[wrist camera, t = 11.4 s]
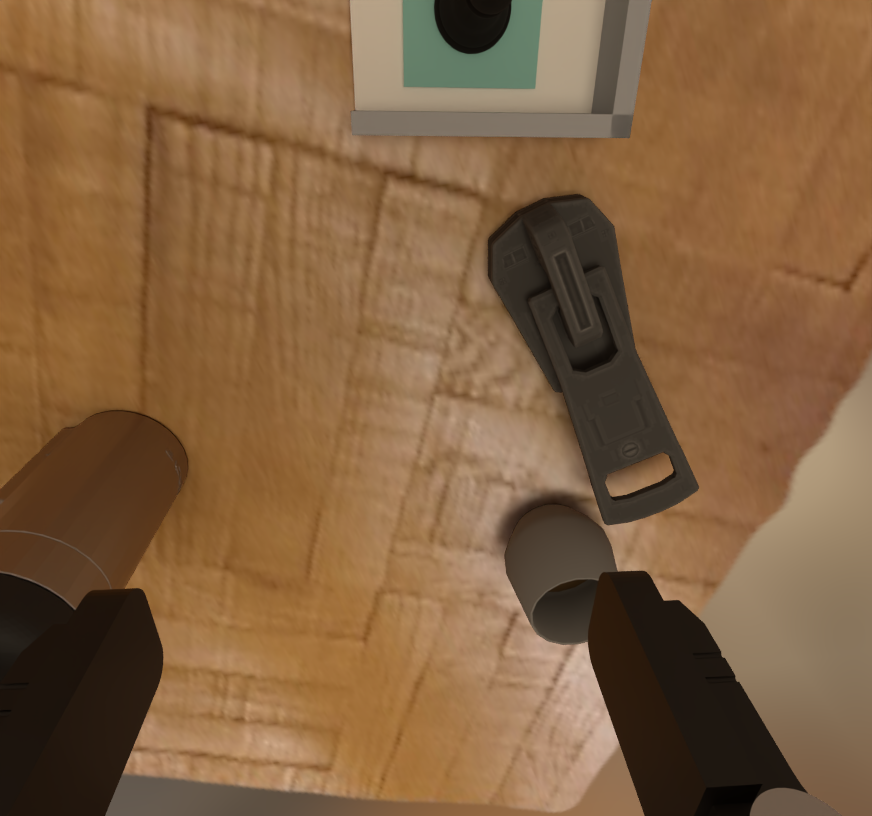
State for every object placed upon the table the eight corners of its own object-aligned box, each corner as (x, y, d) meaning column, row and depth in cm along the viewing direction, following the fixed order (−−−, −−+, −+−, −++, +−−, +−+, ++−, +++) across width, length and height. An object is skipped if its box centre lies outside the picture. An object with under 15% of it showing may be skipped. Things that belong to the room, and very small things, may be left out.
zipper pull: (602, 536, 45) (482, 255, 34) (578, 487, 51) (469, 233, 39) (710, 495, 44) (624, 187, 32) (673, 449, 49) (589, 174, 38)
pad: (403, 86, 34) (403, 86, 34) (401, -85, 30) (401, -87, 30) (533, 88, 34) (535, 88, 34) (547, -80, 31) (549, -82, 30)
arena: (357, 131, 36) (352, 135, 31) (344, -142, 30) (334, -185, 25) (601, 134, 37) (629, 138, 32) (638, -130, 31) (678, -170, 26)
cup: (481, 551, 54) (498, 638, 45) (524, 476, 50) (552, 555, 41) (567, 574, 56) (599, 662, 47) (615, 504, 52) (659, 585, 43)
